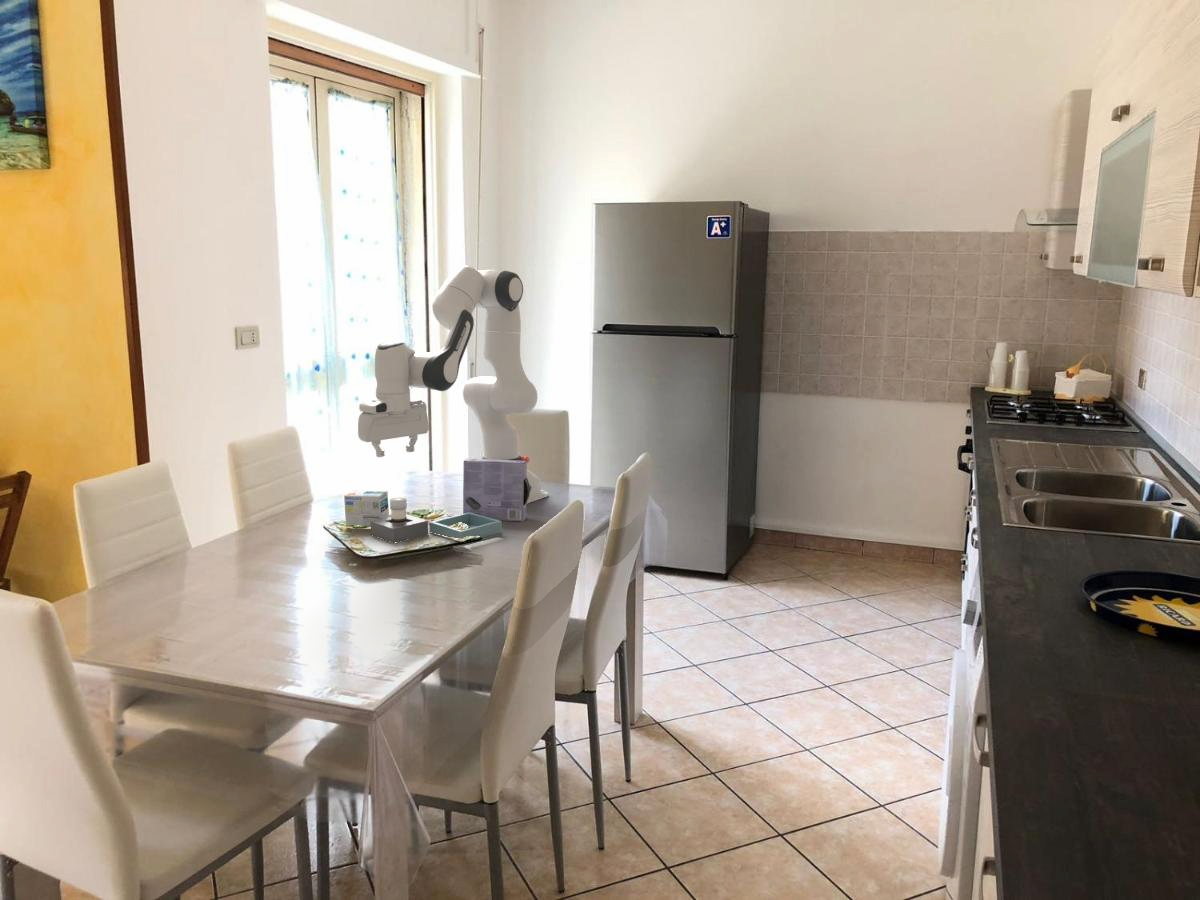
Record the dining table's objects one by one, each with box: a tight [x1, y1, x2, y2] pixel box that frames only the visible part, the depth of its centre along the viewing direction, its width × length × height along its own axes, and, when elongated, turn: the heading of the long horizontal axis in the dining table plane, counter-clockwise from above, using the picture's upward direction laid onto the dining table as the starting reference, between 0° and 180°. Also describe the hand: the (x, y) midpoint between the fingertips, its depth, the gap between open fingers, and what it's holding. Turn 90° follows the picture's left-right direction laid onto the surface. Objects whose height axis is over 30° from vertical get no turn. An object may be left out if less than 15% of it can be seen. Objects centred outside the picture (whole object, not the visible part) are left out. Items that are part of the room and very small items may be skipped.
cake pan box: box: [462, 458, 530, 522], centre depth 273 cm, size 19×5×18 cm, turn 84°
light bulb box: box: [343, 490, 390, 527], centre depth 263 cm, size 11×7×11 cm, turn 84°
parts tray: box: [428, 512, 503, 547], centre depth 257 cm, size 14×14×4 cm
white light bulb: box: [389, 496, 408, 525], centre depth 254 cm, size 4×4×10 cm
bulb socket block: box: [370, 513, 429, 544], centre depth 255 cm, size 11×11×5 cm
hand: (395, 454), depth 251 cm, fingers open, 8 cm apart
